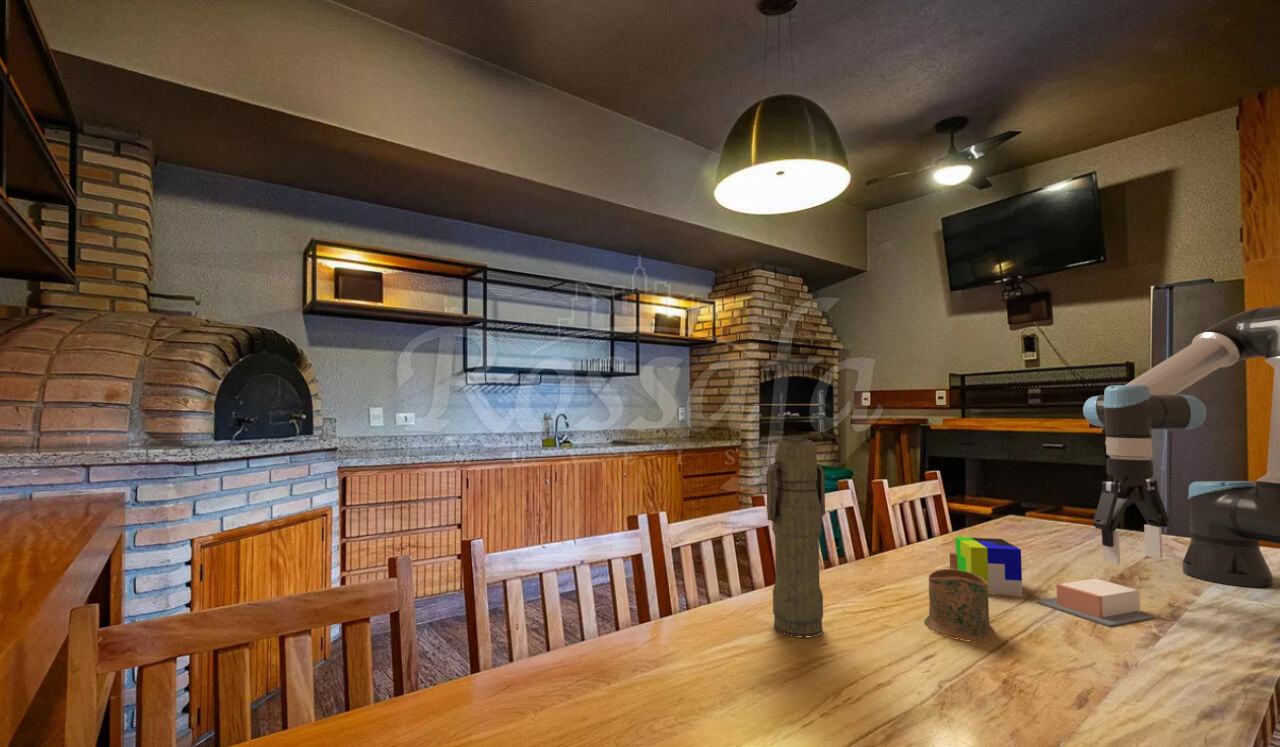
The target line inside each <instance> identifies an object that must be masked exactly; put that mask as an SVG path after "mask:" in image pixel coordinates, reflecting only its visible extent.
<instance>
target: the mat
mask: <svg viewBox="0 0 1280 747" xmlns="http://www.w3.org/2000/svg"><path fill="white" fill-rule="evenodd" d="M1035 603H1036V604H1039V605H1041V606H1043V607H1044V606H1045V607H1047V608H1050V609H1053V610H1057V611H1059V612H1062V613H1065V614H1069V615H1072V616H1074V617H1078V618H1081V619H1084V620H1087V621H1090V622H1093V623H1096V624H1099V625H1102V626H1105V627H1109V628H1113V627H1117V626H1123V625H1128V624H1132V623H1133V624H1134V623H1138V622H1143V621H1148V620H1153V619H1155V616H1154V615H1151V614H1148V613H1144V612H1140V611H1134V612H1129V613H1123V614H1118V615H1112V616H1107V617H1101V618H1098V617H1095V616H1092V615H1089V614H1086V613H1083V612H1080V611H1076V610H1073V609H1070V608H1067V607H1064V606H1061V605H1058V604H1057V596H1056V597H1050V598H1045V599H1040V600H1035Z"/></svg>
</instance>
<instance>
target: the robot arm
mask: <svg viewBox="0 0 1280 747" xmlns="http://www.w3.org/2000/svg"><path fill="white" fill-rule="evenodd" d="M1255 358H1265V360H1264V361H1265V363H1267V364H1268V365H1269V366H1271V367H1272V368H1273V369H1274V370H1273V373H1274V374H1273V383H1272V385H1273V386H1272V398H1271V412H1270V423H1269V424H1270V425H1269V438H1268V440H1269V441H1268V454H1267V466H1266V468H1267V469H1266V474H1264V475H1263V476H1261V477H1259V478H1257V479H1256V482H1255V481H1250V480H1226V481H1225V480H1219V481H1218V480H1216V481H1214V480H1212V481H1210V480H1208V481H1207V480H1205V481H1202V480H1201V481H1193V482H1191V483H1190V484H1189V485H1188V497H1187V500H1188V501H1187V502H1188V515H1189V528H1190V529H1189V530H1190V531H1189V532H1190V542H1189V545H1188V548H1187V550H1186V553H1185V555H1184V558H1183V560H1182V572H1183V573H1184V574H1186V575H1187V576H1190V577H1193V578H1197V579H1200V580H1203V581H1208V582H1209V581H1210V582H1213V583H1219V584H1224V585H1231V586H1240V587H1248V588H1251V587H1252V588H1264V587H1263V586H1269V585H1272V584H1273V585H1274V581H1273V580H1274V578H1273V577H1274V576H1273V574H1272V571H1271V570H1270V568H1269V565H1268V563H1267V562H1266V560H1265V557H1264V555H1263V553H1262V551H1261V547H1260V545H1261V544H1260V542H1264V543H1270V544H1274V545H1280V305H1274V306H1273V305H1272V306H1266V307H1258V308H1251V309H1247V310H1244V311H1242V312H1239V313H1237V314H1234V315H1232V316H1230V317H1227V318H1225V319H1224V320H1222V321H1220V322H1218V323H1216V324H1214V325H1212V326H1210V327H1209V328H1207V329H1205V330H1204V331H1201V332H1200V333H1199V334H1197V335H1196V336H1194V337H1193V339H1192V341H1191V343H1190V344H1189V345H1187V346H1186V347H1184V348H1182V349H1181V350H1179V351H1178V352H1177V353H1175V354H1172V355H1171V356H1170V357H1168V358H1167V359H1165V360H1163V361H1161V362H1160V363H1158V364H1156V365H1155V366H1154V367H1152V368H1150V369H1149V370H1147V371H1146V372H1144V373H1142V374H1141V375H1139V376H1137V377H1135V378H1134V379H1132V380H1131V381H1129V382H1127V383H1126V384H1125V385H1124V384H1121V385H1120V384H1119V385H1118V384H1116V385H1109V386H1107V387H1106V388H1105V389H1104V394H1100V395H1096V396H1095V395H1094V396H1091V397H1089V398H1088V399H1087V400H1086V401H1085V402H1084V405H1083V407H1082V412H1083V416H1084V418H1085V420H1086V421H1087V422H1088V423H1089V424H1091V425H1092V426H1095V427H1102V428H1105V429H1104V430H1105V442H1104V444H1105V447H1106V448H1105V449H1106V450H1105V451H1106V452H1105V453H1106V455H1107V456H1109V457H1107V459H1106V460H1105V461H1106V463H1105V464H1106V474H1108V476H1112V477H1113V481H1105V480H1104V481H1102V483H1101V485H1102V486H1101V494H1100V497H1099V502H1098V504H1097V508H1096V511H1095V516H1094V518H1093V522H1092V525H1093V527H1095V529H1097V530H1099V529H1100V530H1101V540H1102V541H1101V544H1102V561H1103V562H1107V563H1110V564H1111V563H1112V564H1115V565H1120V564H1121V554H1120V553H1121V552H1120V532H1119V531H1117V528H1118V526H1119V524H1120V521H1121V519H1122V517H1123V516H1124V513H1125V511H1126V509H1127V507H1128V506H1131V505H1132V504H1135V505H1136V507H1137V509H1138V511H1139V512H1140V514H1141V515H1142V517H1143V519H1144V520H1145V522H1146V523H1147V524H1144V525H1143V529H1144V550H1145V552H1144V553H1145V556H1147V557H1150V558H1151V557H1152V558H1156V559H1163V539H1162V538H1163V535H1162V527H1164V528H1167V527H1168V525H1169V519H1170V518H1169V516H1168V513H1167V511H1166V508H1165V505H1164V503H1163V500H1162V497H1161V494H1160V491H1159V487H1158V481H1157V479H1156V480H1155V479H1151V478H1153V477H1154V463H1153V460H1152V459H1150V458H1152V457H1153V456H1154V455H1153V441H1152V434H1153V433H1152V430H1160V431H1161V430H1164V431H1165V430H1167V431H1168V430H1169V431H1170V430H1171V431H1175V430H1176V431H1185V430H1193V429H1197V428H1199V427H1200V426H1202V425H1203V423H1204V422H1205V421H1206V418H1207V409H1206V405H1205V404H1204V403H1203V402H1202V400H1201V399H1199V398H1198V397H1197V396H1193V395H1188V394H1187V395H1186V394H1182V393H1181V392H1182V391H1185V389H1187V388H1188V387H1190V386H1192V385H1194V384H1195V383H1196V382H1198V381H1200V380H1202V379H1203V378H1206V376H1208V375H1209V374H1211V373H1213V372H1214V371H1216V370H1218V369H1219V368H1228V367H1232V366H1233V365H1235V364H1236V363H1238V362H1240V361H1244V360H1249V359H1250V360H1251V359H1255ZM1180 393H1181V394H1180ZM1273 585H1272V586H1273ZM1269 587H1270V586H1269Z"/></svg>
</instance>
